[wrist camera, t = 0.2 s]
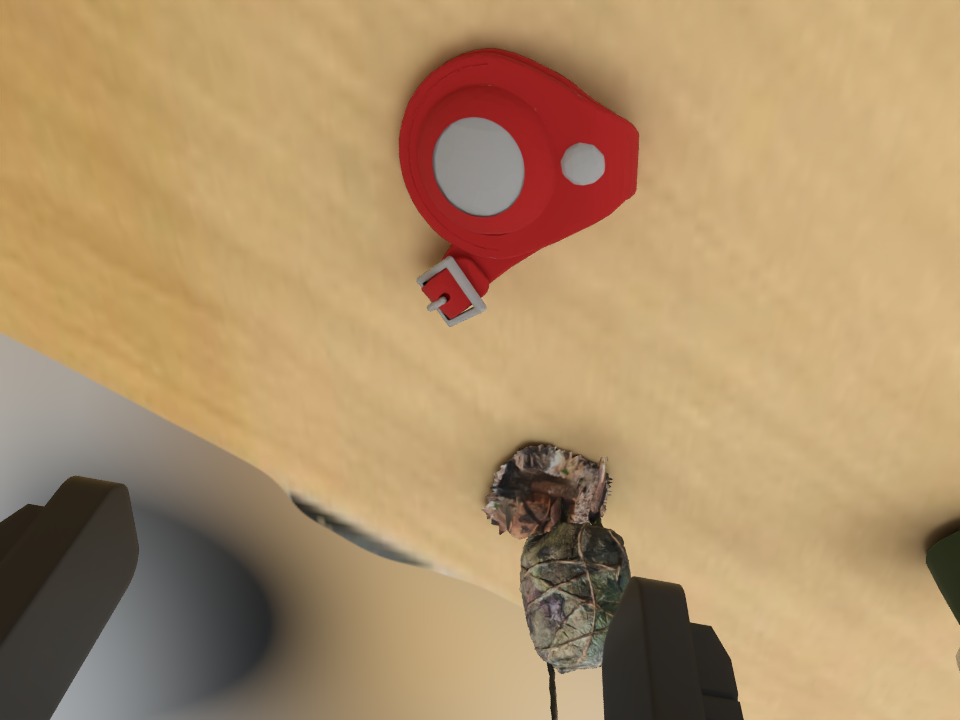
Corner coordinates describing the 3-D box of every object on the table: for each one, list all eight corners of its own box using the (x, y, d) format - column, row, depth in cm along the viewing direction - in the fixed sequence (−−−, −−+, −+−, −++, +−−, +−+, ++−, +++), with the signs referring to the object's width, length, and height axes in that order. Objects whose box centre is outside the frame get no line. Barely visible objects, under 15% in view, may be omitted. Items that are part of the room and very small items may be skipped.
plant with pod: (671, 473, 43) (711, 869, 29) (544, 544, 50) (524, 895, 35) (572, 406, 40) (561, 809, 26) (451, 490, 47) (388, 850, 32)
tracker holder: (362, 57, 27) (625, 50, 24) (415, 44, 31) (650, 35, 27) (401, 341, 33) (617, 370, 30) (441, 302, 37) (638, 323, 33)
